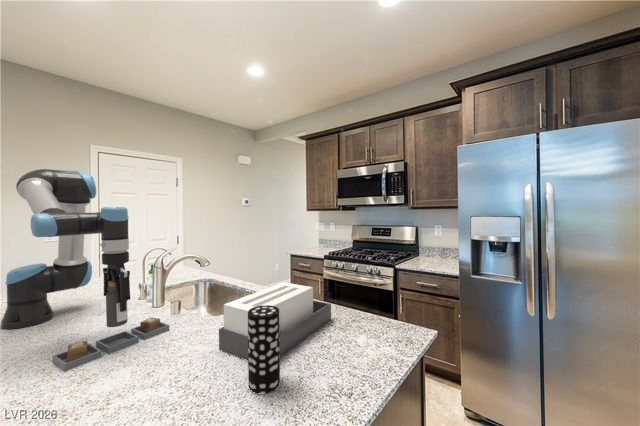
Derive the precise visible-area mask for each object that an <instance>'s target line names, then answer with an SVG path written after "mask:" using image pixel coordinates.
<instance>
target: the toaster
mask: <svg viewBox="0 0 640 426" xmlns="http://www.w3.org/2000/svg"><path fill="white" fill-rule="evenodd" d="M313 300H314V287H313V286H309V285H307V286H306V285H304V284H303V285H302V284H295V283H291V282H286V281H285V282H284V281H283V282H280V283H277V284H274V285H272V286H269V287H268V288H267V287H266V288H263V289H262V290H258V291H257V292H253V293H251V294H248V295H245V296H243V297H240V298H238V299H235V300H233V301H230V302H227V303H224V304H223V327H224V329H226V330H229V331H232V332H235V333H238V334H241V335H244V336H247V337H248V311H249V310H250V309H251V308H254V307H257V306H264V305H270V306H275V307H278V308H279V332H280V334H281V333H282V332H284V331H286V330H287V329H289V328H290V327H292V326H294V325H295V324H297V323H298V322H300V321H302V320H303V319H305V318H306V317H308V316H310V315H311V314H313Z"/></svg>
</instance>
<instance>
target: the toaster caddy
mask: <svg viewBox="0 0 640 426" xmlns="http://www.w3.org/2000/svg"><path fill="white" fill-rule="evenodd" d="M331 321H332V303H330V302H329V303H328V302H323V301H317V300H314V299H313V314H311V315H310V316H308V317H306V318H305V319H303V320H302V321H300V322H298V323H297V324H295V325H294V326H292V327H290V328H289V329H287V330H286V331H284V332H282V333H281V334H280V359H282V358H283V357H284V356H286V354H288V353H289V352H290V351H292V350H293V349H295V348H296V347H297V346H298V345H301V343H303V342H304V341H305V340H307V339H308V338H309V337H310V336H312V335H313V334H315V333H316V332H318V331H319V330H320V329H322V328H323V327H324V326H325V325H327V324H328V323H330V322H331ZM218 350H219V351H221V350H222V352H224V351H225V352H224V353H226V352H227V353H226V354H229V353H230V354H229V355H231V354H232V355H231V356H234V355H235V357H237V356H238V357H237V358H239V357H240V358H239V359H242V358H243V359H242V360H244V359H246V360H245V361H247V360H248V337H247V336H244V335H241V334H238V333H235V332H232V331H229V330H226V329H224V326H223V327H221V328H219V329H218Z"/></svg>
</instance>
